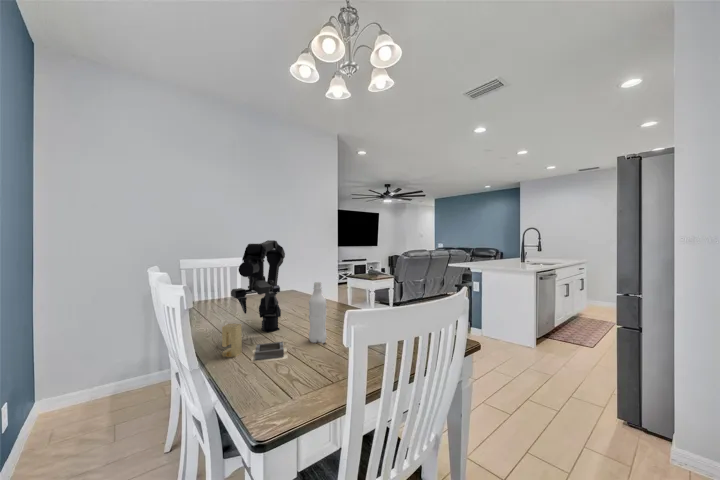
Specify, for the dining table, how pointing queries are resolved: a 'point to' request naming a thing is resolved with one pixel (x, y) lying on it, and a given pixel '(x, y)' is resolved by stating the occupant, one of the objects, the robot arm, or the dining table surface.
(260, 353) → the grey square tray
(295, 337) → the dining table surface
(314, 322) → the water bottle
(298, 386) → the dining table surface
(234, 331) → the brass link
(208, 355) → the dining table surface
